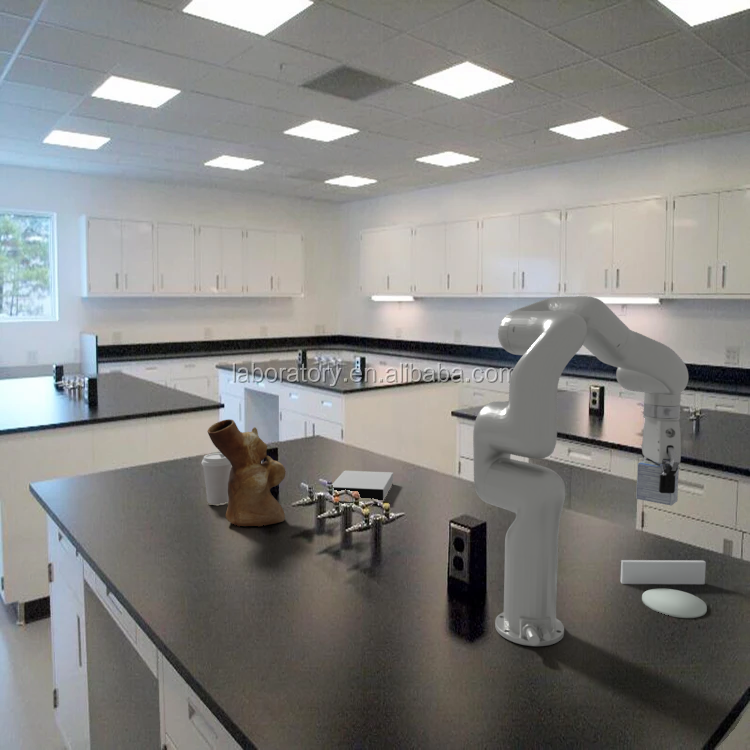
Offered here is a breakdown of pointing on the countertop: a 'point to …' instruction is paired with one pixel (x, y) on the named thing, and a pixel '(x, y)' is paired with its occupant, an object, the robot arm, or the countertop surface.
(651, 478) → the medicine box
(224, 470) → the coffee cup
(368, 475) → the disc drive
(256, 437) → the ceramic vessel
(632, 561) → the acrylic wall
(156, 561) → the countertop surface
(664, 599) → the pad
